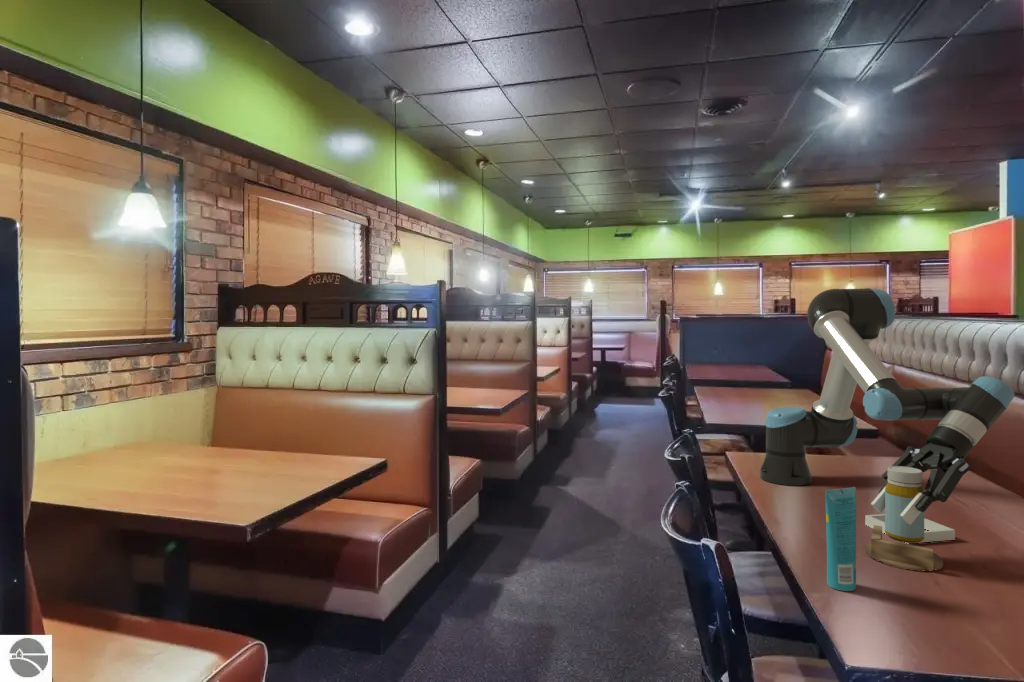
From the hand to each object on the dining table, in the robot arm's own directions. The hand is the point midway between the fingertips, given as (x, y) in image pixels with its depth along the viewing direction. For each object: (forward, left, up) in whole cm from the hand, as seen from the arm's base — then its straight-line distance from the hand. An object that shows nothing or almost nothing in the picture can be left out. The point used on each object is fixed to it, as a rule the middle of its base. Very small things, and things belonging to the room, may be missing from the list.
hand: (890, 513), depth 121 cm
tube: (-4, -21, -10) cm, 24 cm away
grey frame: (0, +21, -10) cm, 23 cm away
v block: (+2, +3, -10) cm, 11 cm away
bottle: (+2, +3, -6) cm, 7 cm away
